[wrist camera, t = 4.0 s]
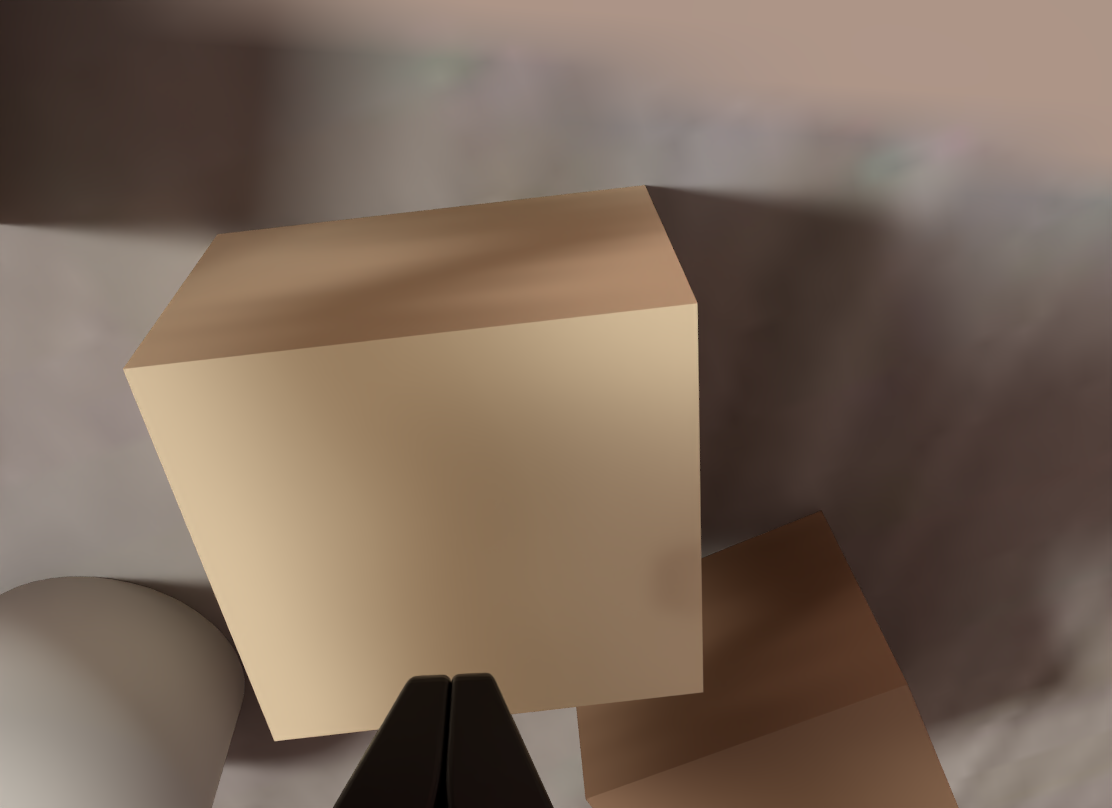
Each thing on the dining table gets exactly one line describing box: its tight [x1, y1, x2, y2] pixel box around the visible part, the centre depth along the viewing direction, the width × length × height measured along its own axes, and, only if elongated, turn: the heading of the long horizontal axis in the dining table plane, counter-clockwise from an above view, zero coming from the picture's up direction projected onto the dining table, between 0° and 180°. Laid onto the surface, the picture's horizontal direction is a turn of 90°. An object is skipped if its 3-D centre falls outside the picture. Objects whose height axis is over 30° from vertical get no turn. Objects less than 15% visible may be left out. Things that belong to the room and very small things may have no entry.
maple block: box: [123, 185, 703, 741], centre depth 13 cm, size 6×6×4 cm
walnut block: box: [576, 511, 958, 808], centre depth 16 cm, size 5×5×4 cm
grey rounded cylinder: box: [0, 577, 245, 808], centre depth 16 cm, size 5×5×3 cm
